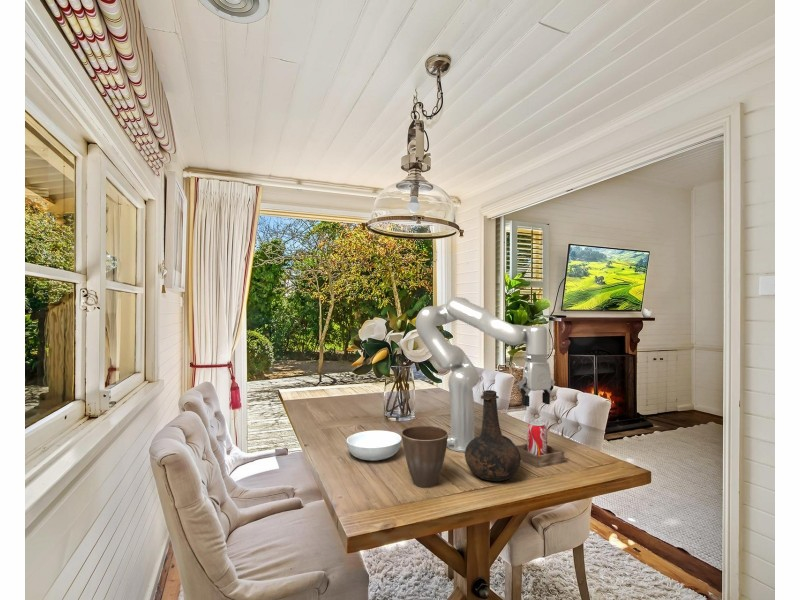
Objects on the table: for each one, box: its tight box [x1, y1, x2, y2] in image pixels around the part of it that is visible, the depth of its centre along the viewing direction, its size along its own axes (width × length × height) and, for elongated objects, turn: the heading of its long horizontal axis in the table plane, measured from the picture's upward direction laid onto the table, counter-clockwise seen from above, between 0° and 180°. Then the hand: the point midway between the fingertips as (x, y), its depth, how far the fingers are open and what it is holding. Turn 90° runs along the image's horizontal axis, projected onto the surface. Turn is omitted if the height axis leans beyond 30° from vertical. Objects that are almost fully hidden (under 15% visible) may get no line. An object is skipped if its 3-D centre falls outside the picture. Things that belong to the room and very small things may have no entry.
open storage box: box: [515, 443, 568, 469], centre depth 146 cm, size 14×14×4 cm
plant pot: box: [401, 425, 449, 489], centre depth 126 cm, size 15×15×16 cm
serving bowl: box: [346, 429, 403, 461], centre depth 149 cm, size 21×21×7 cm
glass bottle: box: [464, 389, 522, 482], centre depth 131 cm, size 18×18×28 cm
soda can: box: [526, 420, 548, 456], centre depth 146 cm, size 7×7×12 cm
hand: (536, 404), depth 147 cm, fingers open, 9 cm apart
